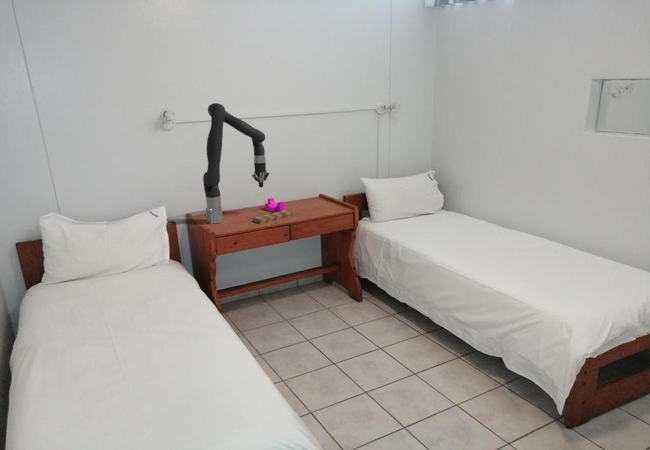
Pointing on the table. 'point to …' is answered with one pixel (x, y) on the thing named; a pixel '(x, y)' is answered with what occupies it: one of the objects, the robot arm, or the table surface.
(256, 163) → the robot arm
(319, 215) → the table surface
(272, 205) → the toy block
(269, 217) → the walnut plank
